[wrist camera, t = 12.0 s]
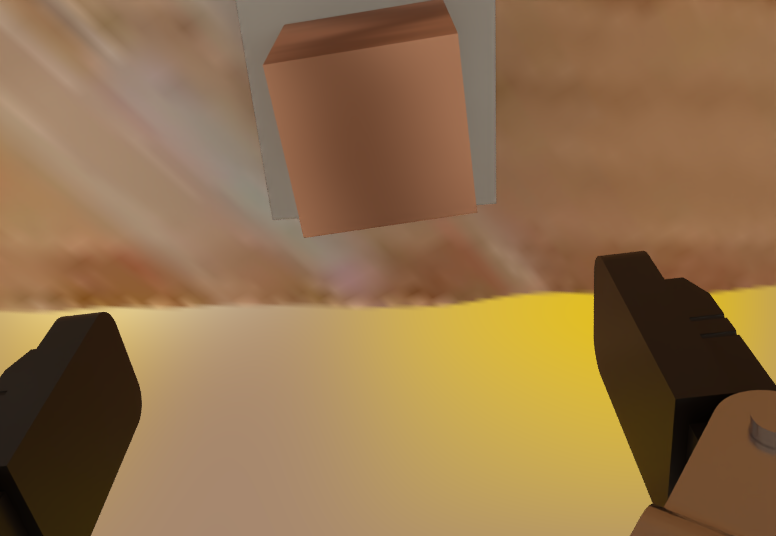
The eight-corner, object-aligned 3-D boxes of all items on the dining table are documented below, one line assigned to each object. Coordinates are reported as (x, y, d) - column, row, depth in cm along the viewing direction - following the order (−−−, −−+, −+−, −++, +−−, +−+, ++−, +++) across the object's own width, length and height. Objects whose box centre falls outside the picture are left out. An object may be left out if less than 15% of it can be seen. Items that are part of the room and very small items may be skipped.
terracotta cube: (442, -2, 23) (457, 33, 19) (459, 150, 25) (477, 212, 21) (284, 24, 23) (262, 65, 19) (316, 172, 26) (303, 237, 21)
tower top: (476, -56, 27) (495, -38, 22) (479, 153, 31) (496, 203, 26) (256, -38, 27) (232, -16, 23) (287, 167, 31) (272, 219, 27)
